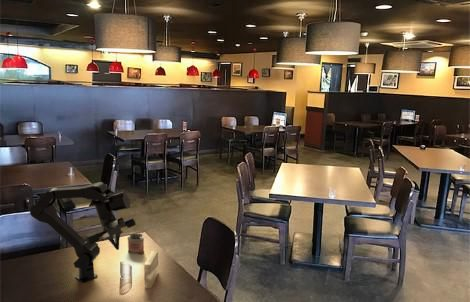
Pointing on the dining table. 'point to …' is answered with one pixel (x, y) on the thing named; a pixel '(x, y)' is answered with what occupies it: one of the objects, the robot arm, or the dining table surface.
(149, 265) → the brown tile
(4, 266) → the dining table surface
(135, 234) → the brown upright container
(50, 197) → the robot arm
